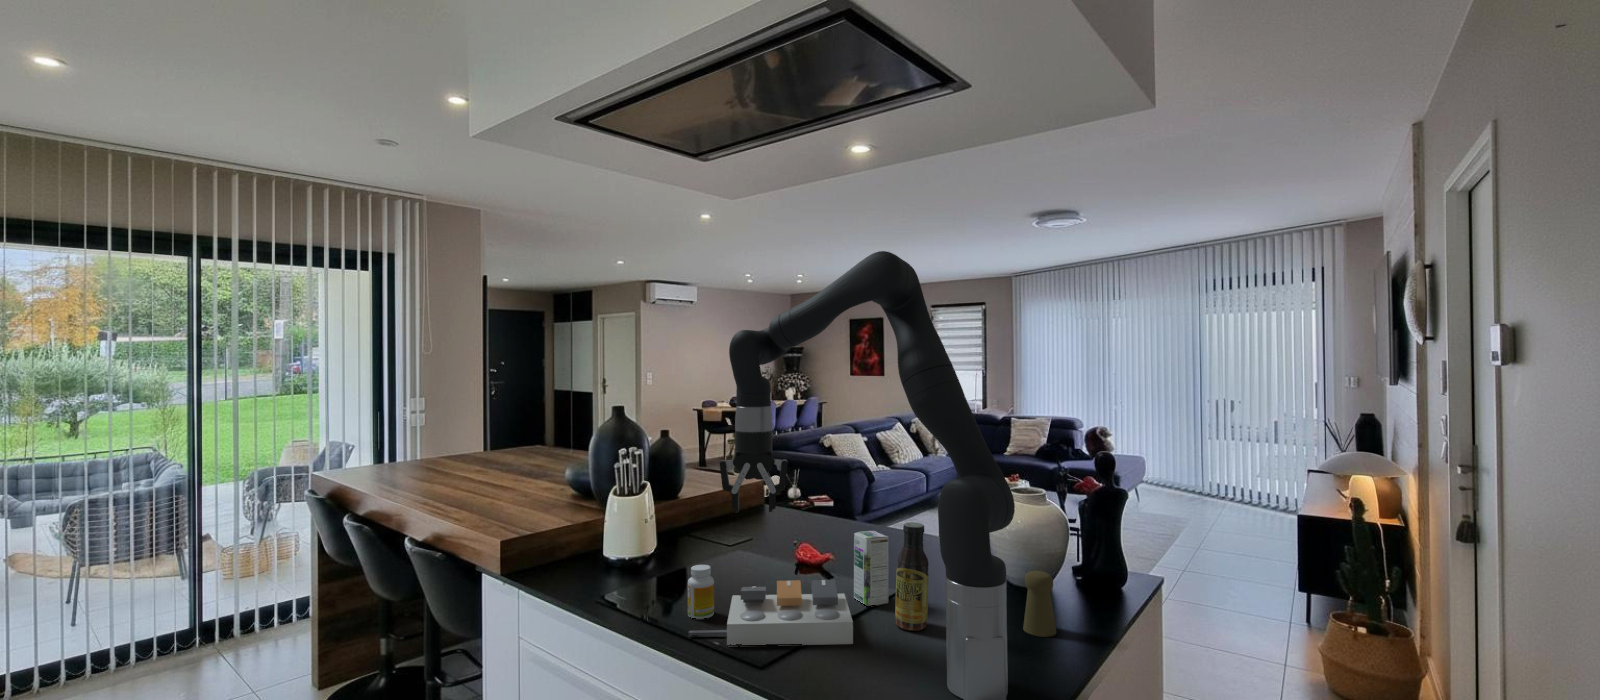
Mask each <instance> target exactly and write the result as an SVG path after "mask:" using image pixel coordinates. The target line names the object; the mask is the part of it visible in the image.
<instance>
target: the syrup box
mask: <svg viewBox="0 0 1600 700" xmlns="http://www.w3.org/2000/svg"><path fill="white" fill-rule="evenodd" d="M853 535H854V537H853V539H854V540H853V555H854V556H853V599H854V598H855V599H856V600H855V601H857V600H858V601H860V602H861V603H863V604H865V605H876V606H881V605H885V604H889V535H884V534H882V533H879V532H877V531H876V530H865V531H864V530H863V531H858V532H857V531H856V532H855V533H853ZM858 601H857V602H858ZM860 602H859V603H860ZM861 603H860V604H861ZM863 604H862V605H863Z"/></svg>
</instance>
